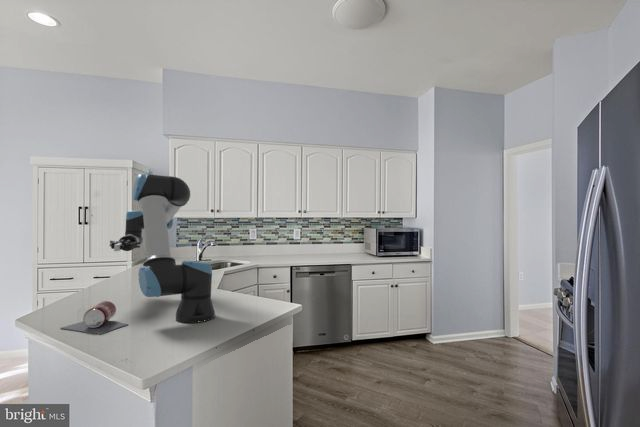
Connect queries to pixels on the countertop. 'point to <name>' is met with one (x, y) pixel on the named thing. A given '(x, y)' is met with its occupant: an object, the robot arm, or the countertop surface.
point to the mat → (100, 330)
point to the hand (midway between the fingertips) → (116, 248)
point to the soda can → (99, 314)
